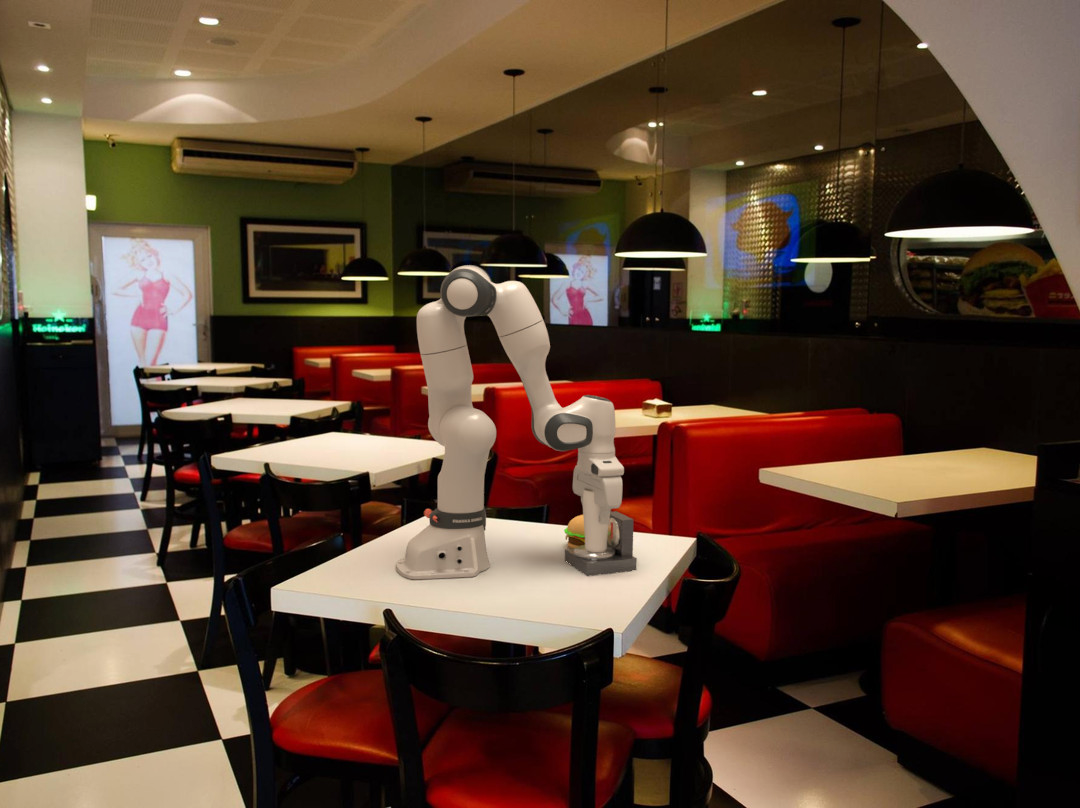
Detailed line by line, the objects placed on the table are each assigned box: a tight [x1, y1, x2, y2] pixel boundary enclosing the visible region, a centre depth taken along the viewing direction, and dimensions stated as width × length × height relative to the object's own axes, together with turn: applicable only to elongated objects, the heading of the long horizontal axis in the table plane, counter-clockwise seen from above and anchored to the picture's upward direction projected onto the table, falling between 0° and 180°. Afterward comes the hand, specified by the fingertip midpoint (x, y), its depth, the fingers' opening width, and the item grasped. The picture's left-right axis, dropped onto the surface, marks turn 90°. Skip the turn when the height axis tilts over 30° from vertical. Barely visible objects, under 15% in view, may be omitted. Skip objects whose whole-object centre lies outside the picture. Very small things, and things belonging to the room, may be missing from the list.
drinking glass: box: [582, 488, 610, 553], centre depth 204 cm, size 7×7×15 cm
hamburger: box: [563, 514, 585, 549], centre depth 222 cm, size 12×12×9 cm
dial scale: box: [564, 510, 637, 577], centre depth 205 cm, size 13×13×12 cm
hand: (595, 519), depth 204 cm, fingers open, 7 cm apart
